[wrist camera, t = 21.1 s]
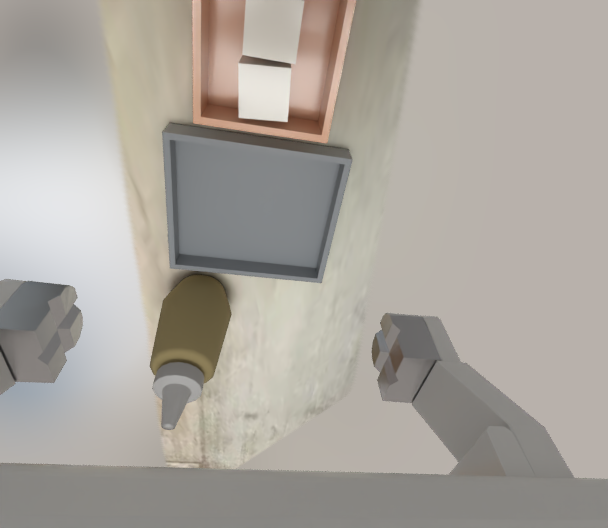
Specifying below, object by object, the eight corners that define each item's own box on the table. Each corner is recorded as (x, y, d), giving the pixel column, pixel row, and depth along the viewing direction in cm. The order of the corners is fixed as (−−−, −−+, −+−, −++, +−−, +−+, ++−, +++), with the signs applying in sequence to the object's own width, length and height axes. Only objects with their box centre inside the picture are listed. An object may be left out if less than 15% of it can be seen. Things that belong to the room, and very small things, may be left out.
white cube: (250, -13, 29) (246, -11, 26) (301, -2, 29) (304, 0, 26) (246, 46, 31) (242, 54, 28) (294, 55, 32) (295, 64, 29)
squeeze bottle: (247, 294, 48) (233, 428, 34) (203, 323, 51) (172, 458, 37) (200, 255, 44) (162, 387, 30) (155, 288, 47) (99, 424, 33)
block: (242, 54, 32) (238, 63, 28) (290, 59, 32) (291, 68, 29) (242, 104, 34) (238, 117, 31) (287, 108, 34) (287, 122, 31)
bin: (203, -50, 28) (191, -54, 24) (350, -19, 29) (360, -18, 26) (202, 107, 34) (193, 123, 31) (322, 126, 36) (327, 143, 32)
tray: (169, 122, 35) (162, 131, 33) (348, 149, 38) (352, 159, 35) (175, 254, 44) (169, 268, 42) (319, 269, 46) (321, 282, 44)
